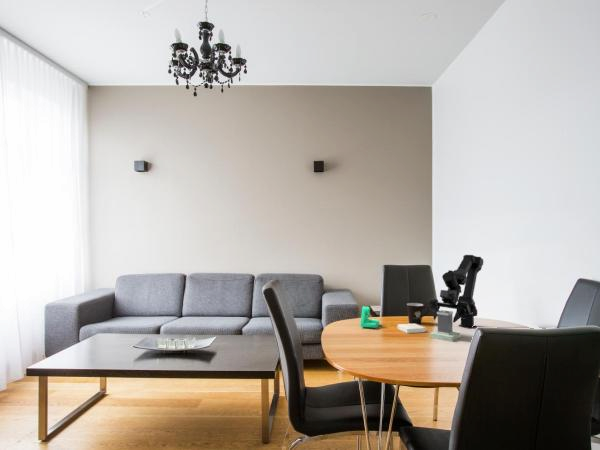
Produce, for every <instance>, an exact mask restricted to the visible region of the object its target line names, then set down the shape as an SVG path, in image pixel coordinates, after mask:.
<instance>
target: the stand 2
mask: <svg viewBox="0 0 600 450" xmlns="http://www.w3.org/2000/svg"><path fill="white" fill-rule="evenodd" d="M437 331H438V329H437V330H435V331H432V332H430V333H429V336H430V337H429V338H431V339H436V340H441V341H447V342H454V341H456V340H458V339H459V338H461V333H460V332H456V331H453V333H452V334H450V335H444V334H438V333H437ZM457 338H458V339H457ZM455 339H456V340H455Z"/></svg>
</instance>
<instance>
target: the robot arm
mask: <svg viewBox="0 0 600 450" xmlns="http://www.w3.org/2000/svg"><path fill="white" fill-rule="evenodd" d="M462 257H463V258H462V260H461V262H460V264H459V266H458V267H457V269H454V270H451V269H450V270H448V271H447V272H445V273H443V274H442V276H441V278H442V280H443V283H444V285H445V287H446V288H447V289H446V290H445V289H440V293H439V297H440V298H441V301H442V302H441V301H439V300H438V299H437V298H429V299H428V301H427V304H428V306H429V308H430V309H431V310H432V312H433V313H432V315H433V316H432V317H433V320H437V318H438V314H437V312H438V311H440V310H441V309H440V308H447V309H454V310H456V311H455V314H454V316H453V318H452V323H456V322H458V321H459V319H460V324H458V326H459V327H462V326H463V328H466V327H468V328H467V329H471V328H470V327H472V326H473V325H475V319H474V318H475V317H478V309H477V307H476V302H475V299H474V298H473V297H474V292H475V288H476V282H477V275H478V274H479V272H480V271H481V270H482V267H483V265H484V259H483V258H482V257H481V256H476V255H474V254H464V255H463V256H462ZM462 286H464V289H463V294H462V295H460V293H462Z"/></svg>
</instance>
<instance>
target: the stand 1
mask: <svg viewBox="0 0 600 450" xmlns="http://www.w3.org/2000/svg"><path fill="white" fill-rule="evenodd" d="M396 327H397V329H398V330H400V331H401V332H403V333H406V334H414V333H416V334H417V333H418V334H419V333H426V332H427V330H426V327H425V326H422V325H421V324H415V323H414V324H410V323H400V324H397V325H396Z"/></svg>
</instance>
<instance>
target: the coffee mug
mask: <svg viewBox="0 0 600 450" xmlns="http://www.w3.org/2000/svg"><path fill="white" fill-rule="evenodd" d="M406 308H407V316H408V324H414V323H415V324H417V325H421V324H422V320H423V318H424V317H425V316H426V315H427V314H428V313H429V311H430V309H429V308H430V307H428V306H426V305H425V306H424V304H423V303H418V302H410V303H409V302H408V303H406ZM425 308H426V309H427V311H426V312H425V313H424V314H423V312H424V311H423V310H424V309H425Z"/></svg>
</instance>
